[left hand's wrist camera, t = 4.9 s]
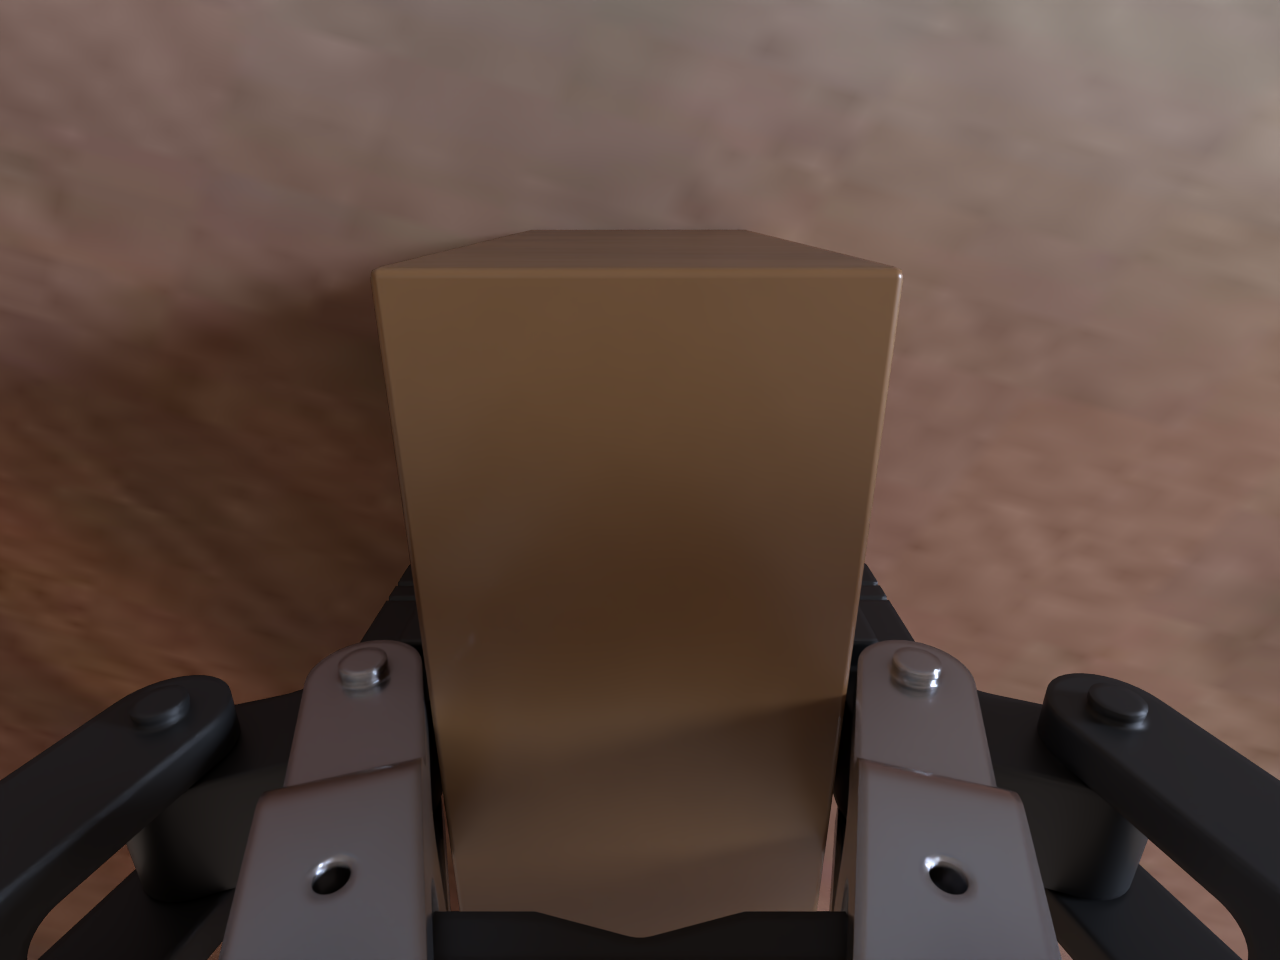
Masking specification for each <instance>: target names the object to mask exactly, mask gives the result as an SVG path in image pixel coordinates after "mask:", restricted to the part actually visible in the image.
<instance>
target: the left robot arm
mask: <svg viewBox="0 0 1280 960" xmlns="http://www.w3.org/2000/svg"><path fill="white" fill-rule="evenodd" d="M886 597H887V596H886V595H885V593H884V592H883V590H882V588H881V587H880V585H878V584H877V580H876V579H875V577H874V576H873V574H872V572H871V571H870V569H869V568H868V566H867V565H866V564H865V563H864V569H863V576H862V584H861V591H860V598H859V606H858V613H857V620H856V628H855V635H854V642H853V650H852V657H851V664H850V672H849V679H848V686H847V693H846V701H845V708H844V715H843V723H842V730H841V737H840V745H839V752H838V759H837V767H836V774H835V781H834V789H833V794H834V797H835V800H836V803H837V813H836V820H835V832H834V848H833V863H832V878H831V893H830V909H829V911H744V912H740V913H737V914H733V915H729V916H725V917H722V918H718V919H714V920H710V921H707V922H703V923H699V924H695V925H692V926H688V927H684V928H680V929H676V930H673V931H669V932H665V933H661V934H658V935H654V936H649V937H631V936H626V935H622V934H619V933H615V932H611V931H607V930H604V929H600V928H596V927H592V926H588V925H585V924H581V923H577V922H573V921H570V920H566V919H562V918H558V917H555V916H551V915H547V914H543V913H540V912H536V911H451V909H450V894H449V879H448V863H447V848H446V833H445V820H444V813H443V806H442V799H441V795H442V792H443V789H442V782H441V775H440V768H439V761H438V754H437V747H436V740H435V733H434V726H433V719H432V711H431V704H430V697H429V690H428V683H427V676H426V669H425V662H424V655H423V648H422V641H421V634H420V627H419V620H418V612H417V605H416V598H415V591H414V584H413V577H412V570H411V564H410V565H409V566H408V568H407V569H406V571H405V573H404V574H403V576H402V577H401V579H400V580H399V582H398V586H396V587H395V588H394V590H393V592H392V593H391V595H390V596H389V601H386V603H385V604H384V606H383V607H382V609H381V610H380V612H379V614H378V615H377V617H376V618H375V620H374V621H373V623H372V625H371V626H370V628H369V629H368V631H367V632H366V634H365V636H364V637H363V639H362V640H361V642H360V643H357V644H354V645H351V646H348V647H345V648H343V649H340V650H338V651H336V652H334V653H332V654H330V655H329V656H327V657H326V658H324V659H323V660H321V661H320V662H319V663H318V664H317V665H316V666H315V667H314V668H313V669H312V670H311V671H310V673H309V674H308V676H307V678H306V681H305V684H304V689H302V690H299V691H296V692H293V693H289V694H285V695H281V696H276V697H271V698H266V699H262V700H257V701H252V702H247V703H242V704H237V705H234V702H233V698H232V694H231V691H230V688H229V686H228V685H227V684H226V683H225V682H224V681H222V680H221V679H219V678H215V677H212V676H205V675H191V676H182V677H177V678H172V679H168V680H164V681H160V682H157V683H155V684H152V685H149V686H146V687H144V688H142V689H139V690H137V691H135V692H133V693H131V694H129V695H127V696H126V697H124V698H123V699H121V700H119V701H118V702H116V703H115V704H113V705H112V706H110V707H109V708H107V709H106V710H104V711H103V712H101V713H100V714H98V715H97V716H95V717H94V718H92V719H91V720H89V721H88V722H86V723H85V724H83V725H82V726H81V727H79V728H78V729H76V730H75V731H73V732H72V733H70V734H69V735H67V736H66V737H64V738H63V739H61V740H60V741H58V742H57V743H55V744H54V745H52V746H51V747H49V748H48V749H46V750H45V751H43V752H42V753H41V754H39V755H38V756H36V757H35V758H33V759H32V760H30V761H29V762H27V763H26V764H24V765H23V766H21V767H20V768H18V769H17V770H15V771H14V772H12V773H11V774H9V775H8V776H6V777H5V778H3V779H2V780H1V781H0V960H27V954H28V948H29V945H30V942H31V940H32V938H33V935H34V933H35V931H36V930H37V928H38V926H39V925H40V923H41V922H42V921H43V919H44V918H45V917H46V915H47V914H48V913H49V912H50V911H51V910H52V909H53V908H54V907H55V906H56V905H57V904H58V903H59V902H60V901H61V900H62V899H64V898H65V897H66V896H67V895H68V894H69V893H70V892H72V891H73V890H74V889H75V888H76V887H77V886H78V885H80V884H81V883H82V882H83V881H84V880H85V879H86V878H88V877H89V876H90V875H91V874H92V873H93V872H94V871H96V870H97V869H98V868H99V867H100V866H101V865H102V864H103V863H105V862H106V861H107V860H108V859H109V858H110V857H111V856H113V855H114V854H115V853H116V852H117V851H118V850H119V849H121V848H122V847H123V846H124V845H125V844H127V847H128V850H129V852H130V855H131V858H132V860H133V863H134V865H135V868H136V869H135V870H134V871H133V872H132V873H131V874H130V875H129V876H128V877H127V878H125V879H124V880H123V881H122V882H121V883H120V884H119V885H118V886H117V887H116V888H115V889H114V890H112V891H111V892H110V893H109V894H108V895H107V896H106V897H105V898H104V899H103V900H102V901H101V902H100V903H98V904H97V905H96V906H95V907H94V908H93V909H92V910H91V911H90V912H89V913H88V914H87V915H85V916H84V917H83V918H82V919H81V920H80V921H79V922H78V923H77V924H76V925H75V926H74V927H72V928H71V929H70V930H69V931H68V932H67V933H66V934H65V935H64V936H63V937H62V938H61V939H60V940H58V941H57V942H56V943H55V944H54V945H53V946H52V947H51V948H50V949H49V950H48V951H47V952H45V953H44V954H43V955H42V956H41V957H40V958H39V959H38V960H207V959H208V958H209V957H210V955H211V954H212V953H213V952H214V951H215V950H216V948H217V947H218V946H219V945H220V944H221V943H222V941H223V943H222V947H221V951H220V955H219V959H218V960H1062V959H1061V955H1060V951H1059V947H1058V943H1059V944H1060V945H1061V946H1062V947H1063V948H1064V950H1065V951H1066V952H1067V953H1068V954H1069V955H1070V957H1071V958H1072V959H1073V960H1242V959H1241V958H1240V957H1239V956H1238V955H1237V954H1236V953H1235V952H1233V951H1232V950H1231V949H1230V948H1229V947H1228V946H1227V945H1226V944H1225V943H1224V942H1223V941H1222V940H1220V939H1219V938H1218V937H1217V936H1216V935H1215V934H1214V933H1213V932H1212V931H1211V930H1210V929H1209V928H1208V927H1206V926H1205V925H1204V924H1203V923H1202V922H1201V921H1200V920H1199V919H1198V918H1197V917H1196V916H1195V915H1193V914H1192V913H1191V912H1190V911H1189V910H1188V909H1187V908H1186V907H1185V906H1184V905H1183V904H1182V903H1180V902H1179V901H1178V900H1177V899H1176V898H1175V897H1174V896H1173V895H1172V894H1171V893H1170V892H1169V891H1167V890H1166V889H1165V888H1164V887H1163V886H1162V885H1161V884H1160V883H1159V882H1158V881H1157V880H1156V879H1155V878H1153V877H1152V876H1151V875H1150V874H1149V873H1148V872H1147V871H1146V870H1145V869H1144V868H1143V867H1142V866H1140V865H1139V862H1140V859H1141V856H1142V854H1143V851H1144V848H1145V846H1146V843H1147V840H1148V839H1149V840H1150V841H1151V842H1153V843H1154V844H1155V845H1156V846H1157V847H1158V848H1159V849H1161V850H1162V851H1163V852H1164V853H1165V854H1166V855H1167V856H1169V857H1170V858H1171V859H1172V860H1173V861H1174V862H1175V863H1176V864H1178V865H1179V866H1180V867H1181V868H1182V869H1183V870H1184V871H1186V872H1187V873H1188V874H1189V875H1190V876H1191V877H1192V878H1194V879H1195V880H1196V881H1197V882H1198V883H1199V884H1200V885H1202V886H1203V887H1204V888H1205V889H1206V890H1207V891H1208V892H1210V893H1211V894H1212V895H1213V896H1214V897H1215V898H1216V899H1217V900H1219V901H1220V902H1221V903H1222V904H1223V905H1224V906H1225V907H1226V909H1227V910H1228V911H1229V912H1230V913H1231V915H1232V916H1233V917H1234V919H1235V920H1236V922H1237V923H1238V925H1239V927H1240V928H1241V930H1242V933H1243V935H1244V937H1245V940H1246V943H1247V947H1248V960H1280V781H1279V780H1278V779H1276V778H1275V777H1274V776H1272V775H1271V774H1269V773H1268V772H1266V771H1265V770H1263V769H1262V768H1260V767H1259V766H1257V765H1256V764H1254V763H1253V762H1251V761H1250V760H1248V759H1247V758H1245V757H1244V756H1242V755H1241V754H1239V753H1238V752H1236V751H1235V750H1234V749H1232V748H1231V747H1229V746H1228V745H1226V744H1225V743H1223V742H1222V741H1220V740H1219V739H1217V738H1216V737H1214V736H1213V735H1211V734H1210V733H1208V732H1207V731H1205V730H1204V729H1202V728H1201V727H1199V726H1198V725H1196V724H1195V723H1194V722H1192V721H1191V720H1189V719H1188V718H1186V717H1185V716H1183V715H1182V714H1180V713H1179V712H1177V711H1176V710H1174V709H1173V708H1171V707H1170V706H1168V705H1167V704H1165V703H1164V702H1162V701H1161V700H1159V699H1158V698H1156V697H1155V696H1153V695H1151V694H1150V693H1148V692H1146V691H1144V690H1142V689H1140V688H1138V687H1135V686H1133V685H1131V684H1128V683H1125V682H1122V681H1119V680H1117V679H1113V678H1109V677H1105V676H1100V675H1095V674H1085V673H1073V674H1066V675H1062V676H1059V677H1057V678H1055V679H1054V680H1052V681H1051V682H1050V683H1049V685H1048V687H1047V690H1046V694H1045V698H1044V701H1043V705H1042V704H1037V703H1032V702H1028V701H1023V700H1018V699H1013V698H1008V697H1003V696H998V695H994V694H990V693H985V692H982V691H979V690H977V689H976V684H975V681H974V678H973V676H972V674H971V673H970V671H969V670H968V669H967V668H966V667H965V666H964V665H963V664H962V663H961V662H960V661H959V660H957V659H956V658H954V657H953V656H951V655H950V654H948V653H946V652H944V651H942V650H940V649H937V648H935V647H932V646H929V645H926V644H923V643H918V642H915V641H914V639H913V638H912V636H911V635H910V633H909V631H908V630H907V628H906V627H905V625H904V623H903V622H902V620H901V619H900V617H899V615H898V614H897V612H896V611H895V609H894V608H893V606H892V604H891V603H890V601H889V600H887V598H886ZM1057 941H1058V943H1057Z"/></svg>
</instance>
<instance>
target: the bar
mask: <svg viewBox="0 0 1280 960" xmlns="http://www.w3.org/2000/svg"><path fill="white" fill-rule="evenodd" d="M370 280H371V287H372V294H373V301H374V308H375V315H376V322H377V329H378V337H379V344H380V351H381V358H382V365H383V372H384V379H385V386H386V393H387V400H388V407H389V414H390V421H391V428H392V436H393V443H394V450H395V457H396V464H397V471H398V478H399V485H400V492H401V499H402V506H403V513H404V520H405V528H406V535H407V542H408V549H409V556H410V563H411V570H412V577H413V584H414V591H415V598H416V605H417V612H418V620H419V627H420V634H421V641H422V648H423V655H424V662H425V669H426V676H427V683H428V690H429V697H430V704H431V711H432V719H433V726H434V733H435V740H436V747H437V754H438V761H439V768H440V775H441V782H442V789H443V796H444V803H445V811H446V818H447V825H448V832H449V839H450V846H451V853H452V860H453V867H454V874H455V881H456V888H457V895H458V903H459V910H460V911H536V912H540V913H543V914H547V915H551V916H555V917H558V918H562V919H566V920H570V921H573V922H577V923H581V924H585V925H588V926H592V927H596V928H600V929H604V930H607V931H611V932H615V933H619V934H622V935H626V936H631V937H649V936H654V935H658V934H661V933H665V932H669V931H673V930H676V929H680V928H684V927H688V926H692V925H695V924H699V923H703V922H707V921H710V920H714V919H718V918H722V917H725V916H729V915H733V914H737V913H740V912H744V911H817V906H818V898H819V891H820V884H821V876H822V869H823V862H824V854H825V847H826V840H827V833H828V825H829V818H830V811H831V803H832V796H833V789H834V781H835V774H836V767H837V759H838V752H839V745H840V737H841V730H842V723H843V715H844V708H845V701H846V693H847V686H848V679H849V672H850V664H851V657H852V650H853V642H854V635H855V628H856V620H857V613H858V606H859V598H860V591H861V584H862V576H863V569H864V562H865V554H866V547H867V540H868V532H869V525H870V518H871V511H872V503H873V496H874V489H875V481H876V474H877V467H878V459H879V452H880V445H881V437H882V430H883V423H884V415H885V408H886V401H887V393H888V386H889V379H890V371H891V364H892V357H893V350H894V342H895V335H896V328H897V320H898V313H899V306H900V298H901V291H902V284H903V274H902V271H901V270H900V269H898V268H896V267H894V266H889V265H885V264H881V263H877V262H873V261H869V260H865V259H861V258H857V257H853V256H849V255H845V254H841V253H837V252H833V251H829V250H825V249H821V248H817V247H812V246H808V245H804V244H800V243H796V242H792V241H788V240H784V239H780V238H776V237H772V236H768V235H764V234H760V233H756V232H752V231H748V230H530V231H525V232H521V233H517V234H513V235H509V236H505V237H501V238H497V239H493V240H488V241H484V242H480V243H476V244H472V245H468V246H464V247H460V248H456V249H452V250H447V251H443V252H439V253H435V254H431V255H427V256H423V257H419V258H415V259H410V260H406V261H402V262H398V263H394V264H390V265H386V266H382V267H378V268H376V269H374V270H372V273H371V277H370Z"/></svg>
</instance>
